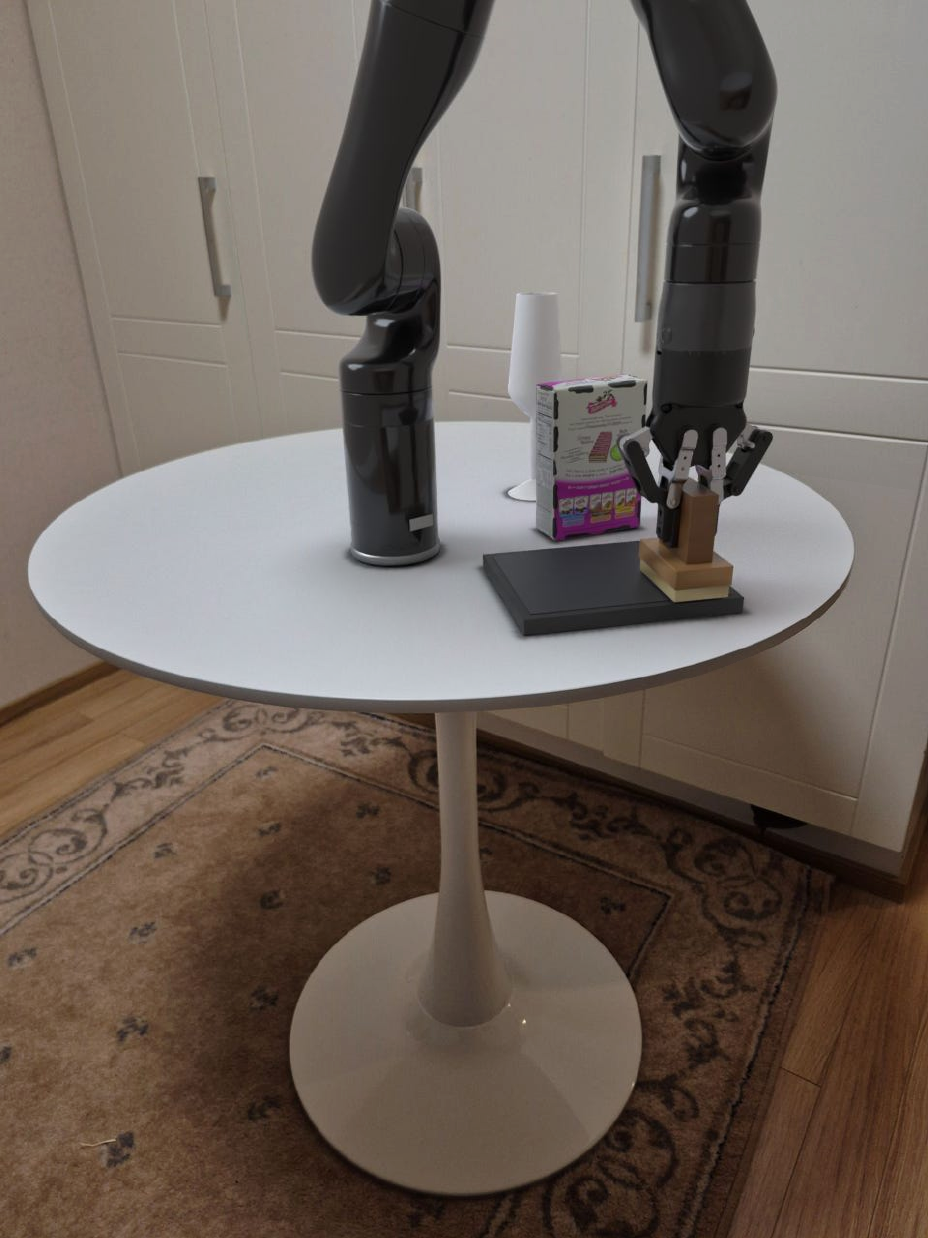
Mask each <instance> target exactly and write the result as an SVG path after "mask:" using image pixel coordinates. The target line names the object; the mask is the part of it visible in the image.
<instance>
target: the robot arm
mask: <svg viewBox="0 0 928 1238" xmlns="http://www.w3.org/2000/svg"><path fill="white" fill-rule="evenodd" d="M496 2H497V0H370V6H369V10H368V11H369V12H368V17H367V24H366V29H365V35H364V40H363V43H362V48H361V52H360V53H361V54H360V57H359V62H358V67H357V71H356V75H355V81H354V84H353V89H352V93H351V98H350V101H349V106H348V111H347V115H346V119H345V124H344V128H343V132H342V135H341V139H340V143H339V146H338V149H337V152H336V156H335V159H334V162H333V166H332V168H331V173H330V176H329V179H328V182H327V185H326V188H325V191H324V195H323V198H322V201H321V204H320V208H319V212H318V215H317V218H316V223H315V225H314V226H315V227H314V230H313V234H312V239H311V240H312V241H311V246H310V247H311V249H310V250H311V251H310V272H311V278H312V282H313V286H314V289H315V291H316V294H317V296H318V298H319V299H320V301H321V303H322V304H323V305H324V306H325V307H326V308H327V309H328V310H329V311H331V312H332V313H334V314H336V315H339V316H341V317H343V316H344V317H350V318H351V317H352V318H353V317H354V318H355V317H365V326H364V329H363V332H362V334H361V336H360V338H359V340H358V341H357V342H356V343H355V344H354V345H353V346H352V347H351V348H350V349H349V350H348V351H347V352H345V354H343V355H342V356H341V357H340V358H339V361H338V364H337V375H338V376H337V379H338V388H339V389H338V390H339V391H338V392H339V401H340V415H341V425H342V436H343V439H342V440H343V450H344V451H343V452H344V463H345V476H346V489H347V499H348V500H347V501H348V514H349V529H350V553H351V556H352V557H353V558H354V559H356V560H357V561H360V562H362V563H366V564H370V565H375V566H389V567H390V566H404V565H405V566H406V565H412V564H416V563H421V562H424V561H426V560H429V559H431V558H433V557H435V556H436V555H437V554H438V553H439V552H440V546H441V545H440V538H439V522H438V521H439V520H438V519H439V518H438V486H437V485H438V484H437V483H438V482H437V455H436V426H435V403H434V402H435V400H434V368H435V365H436V362H437V360H438V356H439V353H440V347H441V322H442V321H441V319H442V316H441V315H442V314H441V313H442V309H441V308H442V265H441V256H440V250H439V245H438V241H437V237H436V235H435V233H434V230H433V228H432V226H431V224H430V223H429V222H428V220H427V219H426V218H425V216H423V215H422V214H421V213H420V212H418V211H417V210H416V209H413V208H410V207H407V206H401V202H402V198H403V195H404V191H405V188H406V185H407V181H408V178H409V176H410V173H411V171H412V168H413V166H414V163H415V161H416V160H417V158H418V155H419V154H420V152H421V150H422V148H423V146H424V145H425V143H426V142H427V141H428V139H429V138H430V136H431V135H432V133H434V130H435V129H436V128H437V126H438V125H439V123H441V121H442V119H443V118H444V116H445V115H446V114H447V112H448V111H449V109H450V108H451V106H452V105H453V104H454V103H455V101H456V99H457V98H458V97H459V95H460V93H461V92H462V91H463V89H464V87H465V86H466V84H467V82H468V80H469V79H470V77H471V75H472V73H473V72H474V69H475V68H476V67H477V64H478V63H479V59H480V56H481V54H482V51H483V48H484V45H485V42H486V39H487V37H486V36H487V34H488V31H489V27H490V24H491V20H492V17H493V13H494V9H495V6H496ZM628 2H629V3H630V6H631V9H632V11H633V13H634V16H635V17H636V19H637V21H638V23H639V25H640V27H641V29H642V30H643V32H644V33H645V35H646V38H647V41H648V45H649V48H650V52H651V55H652V58H653V63H654V66H655V69H656V71H657V75H658V77H659V81H660V84H661V87H662V90H663V93H664V96H665V99H666V102H667V104H668V108H669V111H670V114H671V116H672V120H673V122H674V124H675V127H676V130H677V156H676V157H677V158H676V174H675V175H676V176H675V194H674V195H675V196H674V202H673V206H672V208H671V211H670V214H669V219H668V225H667V230H666V239H665V253H664V255H665V256H664V267H663V268H664V270H663V280H664V281H662V290H661V293H660V294H661V295H660V298H659V304H658V311H657V319H656V321H657V322H656V335H655V347H654V348H655V349H654V363H653V364H654V365H653V366H654V367H653V378H652V392H651V399H652V401H651V402H652V406H651V410H650V413H649V414H648V416H647V417H646V423H645V427H644V428H642V429H640V430H638V431H637V432H635V433H633V434H632V435H630V436H627V435H621V436H619V437H618V438H617V441H616V444H617V447H618V449H619V451H620V454H621V456H622V458H623V460H624V463H625V465H626V467H627V469H628V472H629V474H630V476H631V478H632V481H633V483H634V485H635V487H636V490H637V492H638V493H639V494H640V495H641V496H642V498H645V499H646V501H648V502H649V503H650V504H657V513H656V528H655V534H656V536H657V537H656V538H659V539H660V540H661V541H662V543H663V544H664V545H665V546H666V547H668V548H669V549H670V548H677V547H678V540H679V528H680V517H681V508H679V507H678V506H679V504H680V500H681V495H682V490H683V486H684V483H685V482H687V479H688V477H689V475H690V470H691V468H692V467H694V469H695V471H696V473H697V482H699V483H700V484H702V485H704V486H705V487H707V488H708V489H710V490H712V491H713V492H715V493H717V494H718V495H719V502H718V512H717V521H716V531H715V536H716V535H717V534H718V526H719V516H720V507H721V505H722V503H723V501H725V500H726V499H728V498H730V497H732V496H733V497H739V496H741V495H742V493H743V492H744V491H745V489H746V488H747V485H748V483H750V480H751V478H752V477H753V475H754V474H755V472H756V470H757V468H758V466H759V464H760V463H761V461H762V459H763V457H764V456H765V455H766V452H767V451H768V449H769V448H770V446H771V443H772V442H773V440H774V435H773V432H771V431H768V430H766V429H764V428H762V427H760V426H757V425H752V424H750V423H748V417H747V415H746V412H745V409H744V403H745V400H746V398H747V393H748V385H749V378H750V377H749V376H750V368H751V359H752V349H753V340H754V336H755V331H756V330H755V329H756V328H755V323H756V314H757V313H756V312H757V298H756V297H757V296H756V294H757V293H756V292H757V291H756V287H757V281H756V280H757V276H758V267H759V258H760V249H761V238H762V225H763V224H762V223H763V222H762V221H763V220H762V216H763V215H762V194H763V188H764V183H765V178H766V177H765V176H766V169H767V164H768V157H769V151H770V143H771V137H772V131H773V124H774V118H775V111H776V106H777V102H778V94H779V93H778V92H779V91H778V89H779V87H778V78H777V74H776V70H775V67H774V64H773V61H772V58H771V55H770V53H769V49H768V48H767V45H766V43H765V39H764V37H763V35H762V32H761V30H760V28H759V25H758V23H757V21H756V18H755V16H754V14H753V12H752V9H751V7H750V5H749V3H748V0H629V1H628ZM651 441H652V442H653V444H654V446H655V448H656V449H657V450H658V452H659V453H660V458H659V463H658V468H657V469H658V476H659V477H658V482H657V481H656V479H655V476H654V474H653V472H652V469H651V467H650V465H649V462H648V460H647V457H648V456H649V455H650V452H651V450H650V443H651ZM735 442H736V445H737V447H736V448H735V450H734V452H733V454H732V455H731V457H730V459H729V460H728V463H727V455H726V454H727V453H728V451H729V450H730V449H731V447H733V446H734V444H735Z"/></svg>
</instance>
